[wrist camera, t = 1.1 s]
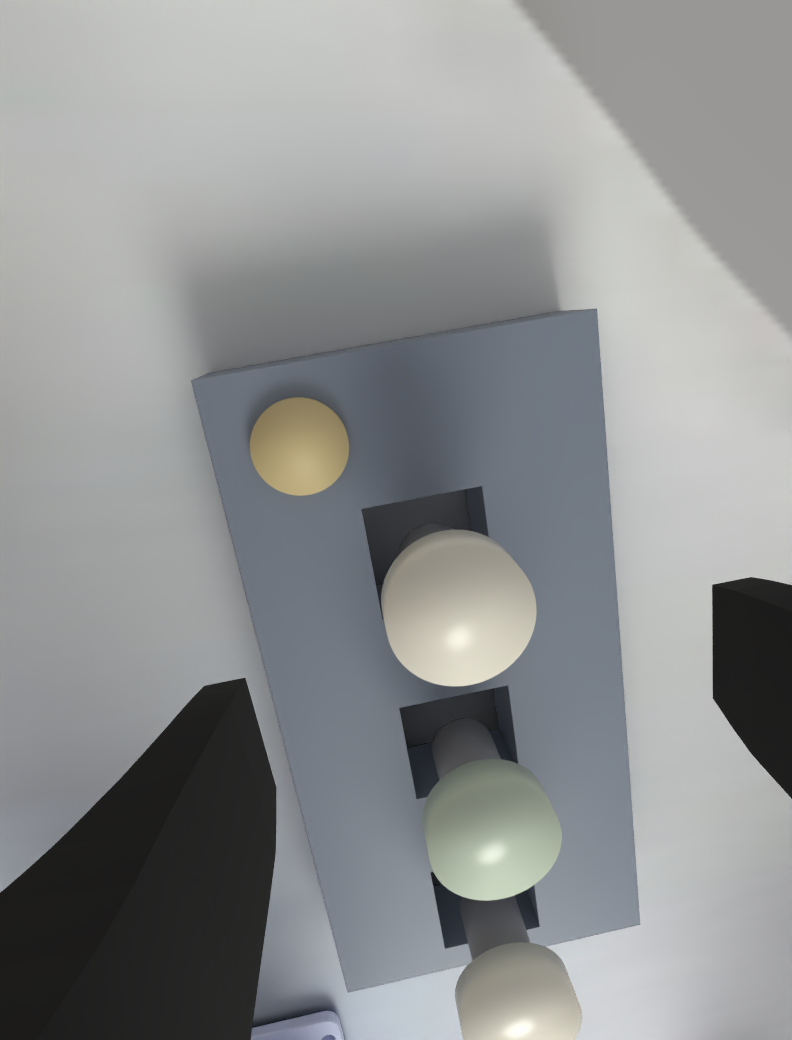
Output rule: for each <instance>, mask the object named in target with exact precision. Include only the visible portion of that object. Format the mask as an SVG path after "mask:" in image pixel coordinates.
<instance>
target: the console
mask: <svg viewBox="0 0 792 1040" xmlns="http://www.w3.org/2000/svg"><path fill="white" fill-rule="evenodd" d="M191 382H192V386H193V390H194V394H195V398H196V402H197V405H198V409H199V413H200V417H201V421H202V425H203V429H204V433H205V437H206V441H207V445H208V448H209V452H210V456H211V460H212V464H213V468H214V472H215V476H216V480H217V484H218V488H219V492H220V495H221V499H222V503H223V507H224V511H225V515H226V519H227V523H228V527H229V531H230V535H231V538H232V542H233V546H234V550H235V554H236V558H237V562H238V566H239V570H240V574H241V578H242V581H243V585H244V589H245V593H246V597H247V601H248V605H249V609H250V613H251V617H252V621H253V624H254V628H255V632H256V636H257V640H258V644H259V648H260V652H261V656H262V660H263V664H264V668H265V671H266V675H267V679H268V683H269V687H270V691H271V695H272V699H273V703H274V707H275V711H276V714H277V718H278V722H279V726H280V730H281V734H282V738H283V742H284V746H285V750H286V754H287V757H288V761H289V765H290V769H291V773H292V777H293V781H294V785H295V789H296V793H297V797H298V800H299V804H300V808H301V812H302V816H303V820H304V824H305V828H306V832H307V836H308V840H309V843H310V847H311V851H312V855H313V859H314V863H315V867H316V871H317V875H318V879H319V883H320V887H321V890H322V894H323V898H324V902H325V906H326V910H327V914H328V918H329V922H330V926H331V930H332V933H333V937H334V941H335V945H336V949H337V953H338V957H339V961H340V965H341V969H342V973H343V976H344V980H345V984H346V988H347V992H353V991H357V990H361V989H366V988H370V987H374V986H379V985H383V984H387V983H391V982H396V981H400V980H404V979H409V978H413V977H417V976H421V975H426V974H430V973H434V972H439V971H443V970H447V969H452V968H456V967H460V966H464V965H469V964H470V962H471V961H472V958H471V954H470V950H469V946H468V941H467V937H466V933H465V929H464V925H463V920H462V916H461V912H460V900H461V898H462V896H460V895H457V894H455V893H453V892H452V891H450V890H448V889H447V888H446V887H445V886H443V884H442V885H437V886H433V883H432V878H431V873H430V872H433V870H432V867H431V864H430V860H429V855H428V850H427V845H426V840H425V835H424V830H423V824H422V813H423V808H424V804H425V802H426V799H427V797H428V795H429V793H430V792H431V790H432V789H433V787H434V786H435V785H436V784H437V783H438V782H439V777H438V773H437V769H436V765H435V761H434V757H433V754H432V743H428V744H424V745H419V746H414V747H410V748H407V746H406V741H405V736H404V731H403V725H402V720H401V715H400V709H399V708H402V707H407V706H411V705H416V704H421V703H426V702H430V701H435V700H440V699H445V698H450V697H454V696H459V695H464V694H469V693H474V692H478V691H483V690H488V689H493V690H494V698H495V705H496V712H497V719H498V727H499V729H494V730H489V732H490V734H491V736H492V738H493V741H494V743H495V746H496V748H497V750H498V753H499V755H500V758H501V759H502V760H508V761H511V762H514V763H517V764H519V765H521V766H523V767H525V768H527V769H528V770H530V771H531V772H532V773H533V774H534V775H535V776H536V777H537V779H538V780H539V781H540V783H541V785H542V786H543V788H544V790H545V792H546V795H547V797H548V799H549V801H550V803H551V805H552V807H553V809H554V811H555V813H556V815H557V817H558V820H559V823H560V826H561V831H562V842H561V848H560V851H559V854H558V857H557V859H556V861H555V863H554V864H553V866H552V868H551V869H550V870H549V871H548V873H547V874H546V875H545V876H544V877H543V878H542V879H541V880H540V881H539V882H537V883H536V884H535V885H533V886H532V887H530V888H529V889H527V890H525V891H523V892H521V893H519V894H517V895H515V898H516V901H517V904H518V907H519V910H520V913H521V916H522V919H523V922H524V925H525V928H526V931H527V934H528V937H529V940H530V943H535V944H538V945H542V946H544V947H546V946H550V945H555V944H559V943H563V942H567V941H572V940H576V939H580V938H585V937H589V936H593V935H598V934H602V933H606V932H610V931H615V930H619V929H623V928H628V927H632V926H636V925H640V915H639V901H638V887H637V872H636V858H635V844H634V830H633V816H632V802H631V787H630V773H629V759H628V745H627V731H626V716H625V702H624V688H623V674H622V660H621V645H620V631H619V617H618V603H617V589H616V574H615V560H614V546H613V532H612V518H611V504H610V489H609V475H608V461H607V447H606V433H605V418H604V404H603V390H602V376H601V362H600V347H599V333H598V319H597V309H586V310H570V311H558V312H553V313H547V314H541V315H536V316H530V317H525V318H519V319H513V320H508V321H502V322H496V323H491V324H485V325H479V326H474V327H468V328H462V329H457V330H451V331H445V332H440V333H434V334H428V335H423V336H417V337H411V338H406V339H400V340H394V341H389V342H383V343H377V344H372V345H366V346H360V347H355V348H349V349H343V350H338V351H332V352H326V353H321V354H315V355H309V356H304V357H298V358H292V359H287V360H281V361H276V362H270V363H264V364H259V365H253V366H247V367H242V368H236V369H230V370H225V371H219V372H213V373H208V374H206V375H203V376H201V377H199V378H196V379H194V380H192V381H191ZM464 489H466V496H467V503H468V510H469V517H470V525H471V531H473V532H477V533H480V534H482V535H485V536H487V537H489V538H491V539H492V540H494V541H496V542H497V543H498V544H499V545H501V546H502V547H503V548H504V549H505V550H506V551H507V552H508V554H509V555H510V556H511V557H512V558H513V560H514V561H515V562H516V563H517V564H518V566H519V567H520V568H521V569H522V571H523V572H524V573H525V575H526V576H527V578H528V580H529V582H530V583H531V585H532V588H533V591H534V594H535V599H536V609H537V614H536V622H535V627H534V631H533V633H532V636H531V639H530V641H529V642H528V644H527V646H526V648H525V649H524V651H523V652H522V654H521V655H520V656H519V657H518V658H517V659H516V661H515V662H514V663H513V664H511V665H510V666H509V667H508V668H507V669H505V670H504V671H503V672H501V673H500V674H498V675H496V676H494V677H492V678H491V679H488V680H486V681H483V682H480V683H477V684H473V685H467V686H443V685H438V684H434V683H431V682H428V681H425V680H423V679H421V678H419V677H417V676H416V675H414V674H413V673H411V672H410V671H409V670H408V669H407V668H406V667H404V666H403V665H402V663H401V662H400V661H399V660H398V659H397V657H396V655H395V654H394V652H393V650H392V648H391V646H390V643H389V640H388V636H387V632H386V628H385V623H384V618H383V614H382V607H381V593H382V587H383V584H380V585H376V583H375V578H374V573H373V567H372V562H371V557H370V551H369V546H368V541H367V536H366V530H365V525H364V520H363V515H362V509H365V508H370V507H375V506H380V505H386V504H391V503H396V502H401V501H407V500H412V499H417V498H422V497H427V496H433V495H438V494H443V493H448V492H454V491H459V490H464Z"/></svg>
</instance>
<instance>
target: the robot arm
mask: <svg viewBox="0 0 792 1040" xmlns="http://www.w3.org/2000/svg"><path fill="white" fill-rule="evenodd" d="M712 605H713V699H714V700H715V702H716V703H717V705H718V706H719V708H720V709H721V711H722V712H723V714H724V715H725V717H726V718H727V720H728V721H729V723H730V724H731V726H732V727H733V729H734V730H735V732H736V733H737V734H738V736H739V737H740V738H741V740H742V741H743V743H744V744H745V745H746V747H747V748H748V750H749V751H750V752H751V754H752V755H753V756H754V757H755V758H756V759H757V760H758V762H759V763H760V764H761V765H762V766H763V767H764V768H765V769H766V771H767V772H768V773H769V774H770V775H771V776H772V777H773V778H774V779H775V781H776V782H777V783H778V784H779V785H780V786H781V787H782V788H783V789H784V791H785V792H786V793H787V794H788V795H789V796H790V797H791V798H792V585H788V584H784V583H780V582H775V581H770V580H765V579H759V578H752V577H750V578H745V579H740V580H735V581H730V582H725V583H720V584H715V585H712ZM275 852H276V785H275V782H274V778H273V775H272V771H271V768H270V764H269V760H268V757H267V753H266V750H265V746H264V743H263V739H262V736H261V732H260V728H259V725H258V721H257V718H256V714H255V711H254V707H253V704H252V700H251V697H250V693H249V689H248V686H247V682H246V679H245V678H242V679H237V680H232V681H227V682H222V683H217V684H212V685H207V686H204V687H203V688H202V689H201V690H200V691H199V692H198V693H197V694H196V695H195V696H194V697H193V698H192V699H191V700H190V702H189V703H188V704H187V705H186V706H185V707H184V708H183V709H182V711H181V712H180V713H179V714H178V715H177V716H176V717H175V718H174V720H173V721H172V722H171V723H170V724H169V725H168V726H167V728H166V729H165V730H164V731H163V732H162V733H161V734H160V736H159V737H158V738H157V739H156V740H155V741H154V742H153V743H152V744H151V746H150V747H149V748H148V749H147V750H146V751H145V752H144V753H143V754H142V756H141V757H140V758H139V759H138V760H137V761H136V762H135V763H134V764H133V766H132V767H131V768H130V769H129V770H128V771H127V772H126V773H125V774H124V775H123V776H122V778H121V779H120V780H119V781H118V782H117V783H116V784H115V785H114V786H113V787H112V788H111V789H110V790H109V791H108V792H107V793H106V794H105V795H104V796H103V797H102V798H101V799H100V800H99V801H98V802H97V803H96V804H95V805H94V806H93V807H92V808H91V809H90V810H89V811H88V812H87V813H86V814H85V815H84V816H83V817H82V818H81V819H80V820H79V821H78V822H77V823H76V824H75V825H74V826H73V827H72V828H71V829H70V830H69V831H68V832H67V833H66V834H65V835H64V836H63V837H62V838H61V839H60V840H59V841H58V842H57V843H56V844H55V845H54V846H53V847H52V848H51V849H49V850H48V851H47V852H46V853H45V854H44V855H43V856H42V857H41V858H40V859H39V860H37V861H36V862H35V863H34V864H33V865H32V866H31V867H30V868H29V869H27V870H26V871H25V872H24V873H23V874H22V875H21V876H19V877H18V878H17V879H16V880H15V881H14V882H12V883H11V884H10V885H9V886H8V887H7V888H6V889H4V890H3V891H2V892H1V893H0V1040H345V1039H344V1035H343V1031H342V1028H341V1024H340V1020H339V1017H338V1016H337V1014H335V1013H334V1012H331V1011H322V1012H318V1013H314V1014H310V1015H305V1016H301V1017H297V1018H292V1019H288V1020H284V1021H280V1022H275V1023H271V1024H267V1025H263V1026H258V1027H254V1028H252V1023H253V1015H254V1008H255V1001H256V994H257V986H258V979H259V972H260V965H261V958H262V950H263V943H264V936H265V929H266V922H267V914H268V907H269V900H270V892H271V884H272V877H273V869H274V861H275Z"/></svg>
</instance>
